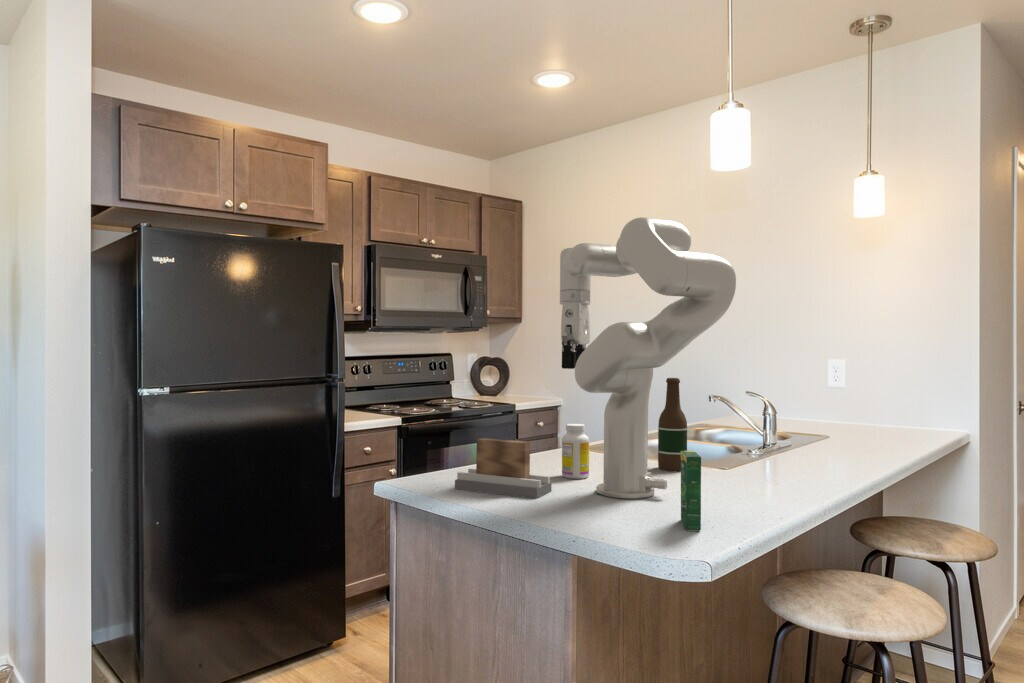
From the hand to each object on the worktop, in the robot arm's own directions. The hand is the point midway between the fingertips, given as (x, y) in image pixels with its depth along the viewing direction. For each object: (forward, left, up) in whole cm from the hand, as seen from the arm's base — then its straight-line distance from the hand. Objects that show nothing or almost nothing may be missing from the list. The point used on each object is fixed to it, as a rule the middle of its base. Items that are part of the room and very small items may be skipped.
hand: (574, 367), depth 166 cm
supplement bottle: (-1, 0, -27) cm, 27 cm away
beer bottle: (-20, -22, -27) cm, 40 cm away
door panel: (+8, +22, -25) cm, 34 cm away
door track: (+8, +22, -27) cm, 36 cm away
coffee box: (-34, +32, -27) cm, 54 cm away
